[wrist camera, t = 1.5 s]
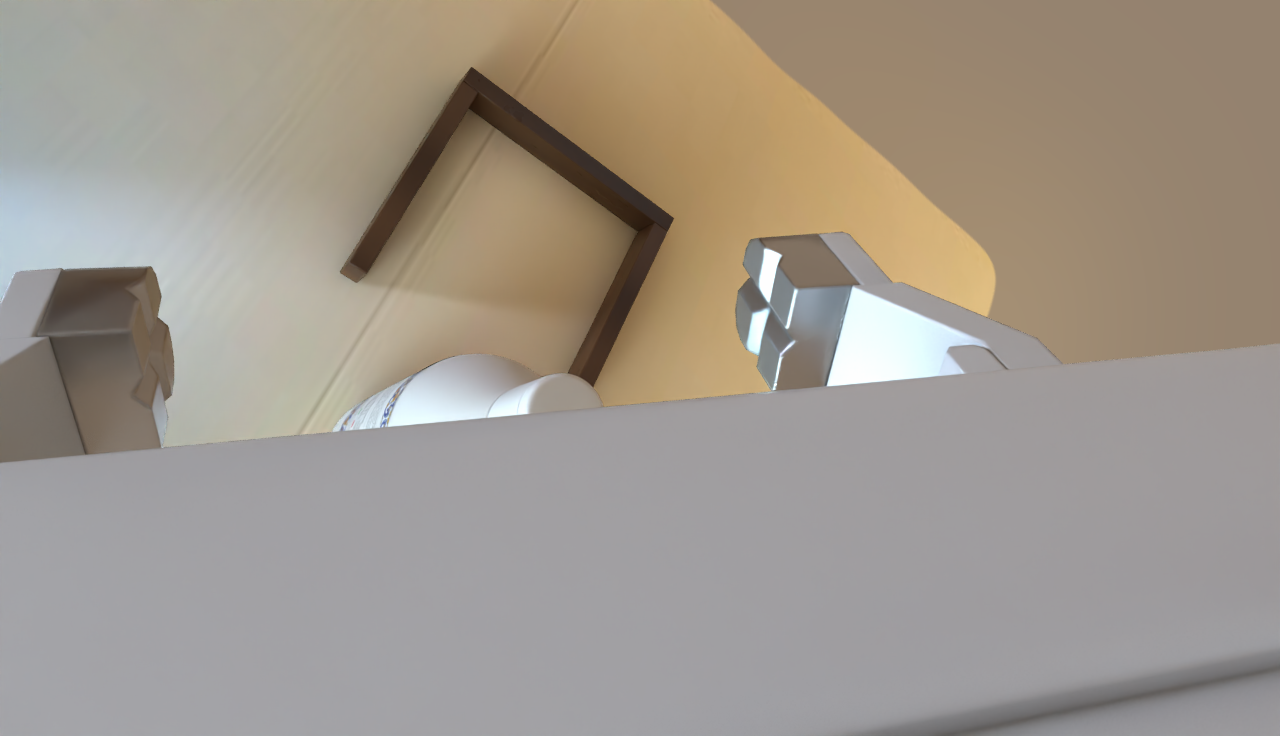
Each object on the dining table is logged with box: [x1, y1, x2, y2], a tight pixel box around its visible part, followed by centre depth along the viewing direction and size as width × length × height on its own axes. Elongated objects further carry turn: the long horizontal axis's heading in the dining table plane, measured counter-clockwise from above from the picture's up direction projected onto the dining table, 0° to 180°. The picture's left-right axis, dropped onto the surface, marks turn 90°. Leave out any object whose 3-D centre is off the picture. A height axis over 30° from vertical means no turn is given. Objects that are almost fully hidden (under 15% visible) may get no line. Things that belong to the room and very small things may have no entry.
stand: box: [340, 67, 674, 387], centre depth 52 cm, size 13×14×2 cm
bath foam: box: [332, 354, 603, 432], centre depth 40 cm, size 7×7×20 cm
